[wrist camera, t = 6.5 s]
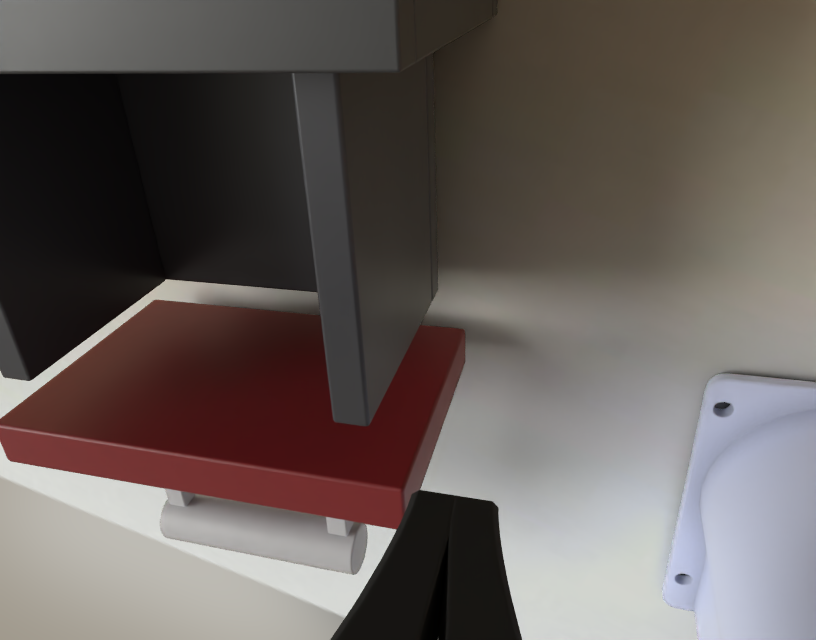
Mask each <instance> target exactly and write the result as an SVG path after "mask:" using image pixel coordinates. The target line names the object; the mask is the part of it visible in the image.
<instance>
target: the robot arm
mask: <svg viewBox="0 0 816 640" xmlns="http://www.w3.org/2000/svg"><path fill="white" fill-rule="evenodd" d="M719 402H727V403H730V406H729V407H727V408H725V409H718V408H715V407H714V406H715V405H716V404H717V403H719ZM679 574H686V575H679ZM662 591H663V600H664V601H665V603H667V604H668V605H670V606H671V607H674V608H678V609H684V610H689V611H694V613H695V620H696V628H697V636H698V640H816V382H809V381H800V380H790V379H780V378H770V377H760V376H750V375H741V374H731V373H723V374H718V375H716V376H713V377H712V378H711V379H710V380H709V381H708V382H707V385H706V387H705V392H704V397H703V401H702V406H701V411H700V415H699V420H698V425H697V429H696V434H695V439H694V443H693V448H692V452H691V457H690V462H689V466H688V471H687V476H686V480H685V485H684V490H683V494H682V499H681V504H680V508H679V513H678V518H677V522H676V527H675V532H674V536H673V541H672V545H671V550H670V555H669V559H668V564H667V569H666V573H665V578H664V583H663V587H662ZM331 640H522V637H521V634H520V630H519V626H518V622H517V618H516V614H515V610H514V606H513V603H512V599H511V594H510V590H509V585H508V581H507V575H506V570H505V565H504V560H503V554H502V547H501V540H500V531H499V518H498V507H497V506H496V505H495V504H494V503H493V502H492V501H486V500H480V499H473V498H467V497H460V496H454V495H448V494H441V493H435V492H429V491H422V490H418V491H416V492H414V493H412V495H411V498H410V500H409V503H408V506H407V508H406V511H405V513H404V515H403V518H402V520H401V522H400V524H399V526H398V529H397V531H396V533H395V535H394V537H393V539H392V540H391V542H390V544H389V546H388V548H387V550H386V552H385V554H384V555H383V557H382V559H381V561H380V563H379V564H378V566H377V568H376V569H375V571H374V573H373V574H372V576H371V578H370V579H369V581H368V583H367V584H366V586H365V588H364V589H363V591H362V593H361V594H360V596H359V598H358V599H357V601H356V602H355V604H354V606H353V607H352V609H351V610H350V612H349V613H348V615H347V616H346V618H345V619H344V620H343V622H342V623H341V625H340V626H339V628H338V629H337V631H336V632H335V634H334V635H333V637H332V638H331Z"/></svg>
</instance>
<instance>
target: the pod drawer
mask: <svg viewBox="0 0 816 640" xmlns="http://www.w3.org/2000/svg"><path fill="white" fill-rule="evenodd" d="M165 279H171V280H182V281H194V282H206V283H217V284H229V285H241V286H252V287H264V288H275V289H287V290H299V291H310V292H318V300H319V308H320V315H312V314H302V313H291V312H281V311H270V310H260V309H249V308H239V307H228V306H218V305H207V304H197V303H186V302H176V301H165V300H154V301H153V302H151V303H150V304H149V305H147V306H146V307H145V308H143V309H142V310H141V311H140V312H138V313H137V314H136V315H134V316H133V317H132V318H130V319H129V320H128V321H127V322H125V323H124V324H123V325H121V326H120V327H119V328H118V329H116V330H115V331H114V332H112V333H111V334H110V335H108V336H107V337H106V338H105V339H103V340H102V341H101V342H99V343H98V344H97V345H95V346H94V347H93V348H92V349H90V350H89V351H88V352H86V353H85V354H84V355H82V356H81V357H80V358H79V359H77V360H76V361H75V362H73V363H72V364H71V365H70V366H68V367H67V368H66V369H64V370H63V371H62V372H60V373H59V374H58V375H57V376H55V377H54V378H53V379H51V380H50V381H49V382H47V383H46V384H45V385H44V386H42V387H41V388H40V389H38V390H37V391H36V392H34V393H33V394H32V395H31V396H29V397H28V398H27V399H25V400H24V401H23V402H22V403H20V404H19V405H18V406H16V407H15V408H14V409H12V410H11V411H10V412H9V413H7V414H6V415H5V416H3V417H2V418H1V419H0V442H1V444H2V446H3V449H4V451H5V453H6V456H7V458H8V459H9V460H10V461H12V462H18V463H24V464H29V465H35V466H41V467H46V468H52V469H58V470H63V471H69V472H75V473H80V474H86V475H92V476H97V477H103V478H109V479H114V480H120V481H126V482H131V483H137V484H143V485H148V486H154V487H160V488H165V492H166V495H167V498H168V499H167V501H166V502H165V504H164V507H163V509H162V512H161V517H160V529H161V532H162V534H163V535H164V536H165V537H166V538H170V539H175V540H180V541H185V542H190V543H195V544H200V545H205V546H210V547H215V548H220V549H225V550H231V551H236V552H241V553H246V554H251V555H256V556H261V557H266V558H271V559H276V560H281V561H286V562H291V563H296V564H301V565H306V566H311V567H316V568H322V569H327V570H332V571H337V572H342V573H347V574H352V575H354V574H357V573H358V571H359V570H360V568H361V566H362V563H363V560H364V557H365V553H366V547H367V527H366V525H365V524H369V525H375V526H381V527H386V528H392V529H398V526H399V524H400V522H401V520H402V518H403V515H404V513H405V511H406V508H407V506H408V503H409V500H410V498H411V495H412V493H414V492H416V491H418V490H420V488H421V486H422V483H423V480H424V477H425V474H426V471H427V469H428V466H429V463H430V460H431V457H432V454H433V452H434V449H435V446H436V443H437V440H438V437H439V435H440V432H441V429H442V426H443V423H444V420H445V417H446V415H447V412H448V409H449V406H450V403H451V400H452V398H453V395H454V392H455V389H456V386H457V383H458V381H459V378H460V375H461V372H462V369H463V366H464V364H465V330H464V329H459V328H449V327H438V326H428V325H420V324H421V322H422V320H423V318H424V316H425V314H426V312H427V310H428V308H429V306H430V304H431V302H432V301H433V299H434V297H435V295H436V293H437V291H438V252H437V206H436V160H435V115H434V69H433V53H432V54H430V55H428V56H426V57H425V58H423V59H421V60H420V61H418V62H416V63H414V64H413V65H411V66H410V67H408V68H406V69H404V70H403V71H401V72H399V73H197V74H0V371H1V373H2V375H3V377H5V378H12V379H19V380H26V381H30V380H32V379H34V378H35V377H36V376H38V375H39V374H40V373H42V372H43V371H44V370H46V369H47V368H48V367H50V366H51V365H53V364H54V363H55V362H57V361H58V360H59V359H61V358H62V357H63V356H65V355H66V354H67V353H69V352H70V351H71V350H73V349H74V348H75V347H77V346H78V345H79V344H81V343H82V342H83V341H85V340H86V339H87V338H89V337H90V336H91V335H93V334H94V333H95V332H97V331H98V330H99V329H101V328H102V327H103V326H105V325H106V324H107V323H109V322H110V321H112V320H113V319H114V318H116V317H117V316H118V315H120V314H121V313H122V312H124V311H125V310H126V309H128V308H129V307H130V306H132V305H133V304H134V303H136V302H137V301H138V300H140V299H141V298H142V297H144V296H145V295H146V294H148V293H149V292H150V291H152V290H153V289H154V288H156V287H157V286H158V285H160V284H161V283H162V282H164V281H165Z"/></svg>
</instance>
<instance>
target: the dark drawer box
mask: <svg viewBox="0 0 816 640" xmlns="http://www.w3.org/2000/svg"><path fill="white" fill-rule="evenodd" d="M496 14H497V0H0V74H197V73H399V72H401V71H403V70H404V69H406V68H408V67H410V66H411V65H413V64H414V63H416V62H418V61H420V60H421V59H423V58H425V57H426V56H428V55H430V54H432V53H433V52H435V51H437V50H438V49H440V48H442V47H443V46H445V45H447V44H449V43H450V42H452V41H454V40H455V39H457V38H459V37H460V36H462V35H464V34H466V33H467V32H469V31H471V30H472V29H474V28H476V27H478V26H479V25H481V24H483V23H484V22H486V21H488V20H489V19H491V18H492V17H494V16H495V15H496Z"/></svg>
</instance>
